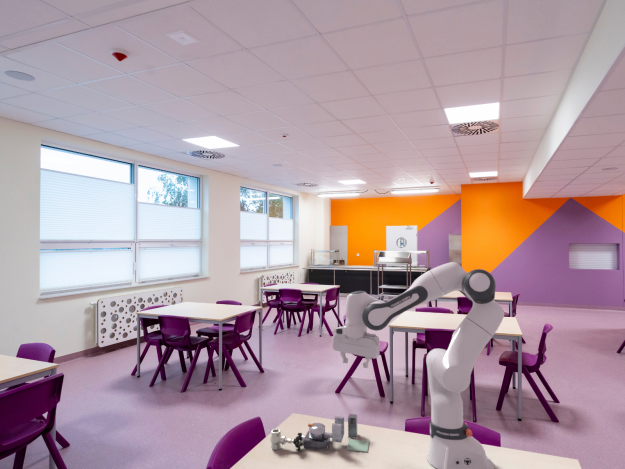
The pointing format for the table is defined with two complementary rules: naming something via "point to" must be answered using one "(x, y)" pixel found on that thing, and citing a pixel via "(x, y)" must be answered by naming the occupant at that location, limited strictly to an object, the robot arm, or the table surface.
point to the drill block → (315, 442)
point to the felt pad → (358, 445)
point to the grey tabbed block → (352, 426)
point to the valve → (284, 440)
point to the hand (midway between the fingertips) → (355, 365)
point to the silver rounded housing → (319, 433)
